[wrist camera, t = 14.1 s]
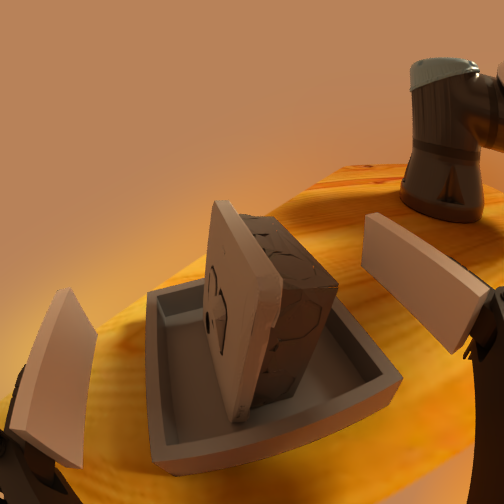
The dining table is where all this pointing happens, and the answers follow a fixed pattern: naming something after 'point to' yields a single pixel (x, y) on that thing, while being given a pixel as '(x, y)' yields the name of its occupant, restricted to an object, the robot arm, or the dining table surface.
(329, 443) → the dining table surface
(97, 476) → the dining table surface
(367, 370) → the box
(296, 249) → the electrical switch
